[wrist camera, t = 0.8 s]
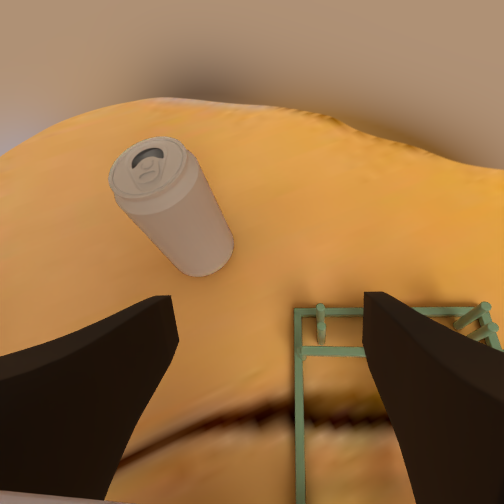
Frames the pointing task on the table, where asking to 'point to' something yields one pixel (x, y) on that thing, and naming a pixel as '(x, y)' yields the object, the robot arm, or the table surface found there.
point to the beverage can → (172, 204)
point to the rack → (321, 312)
